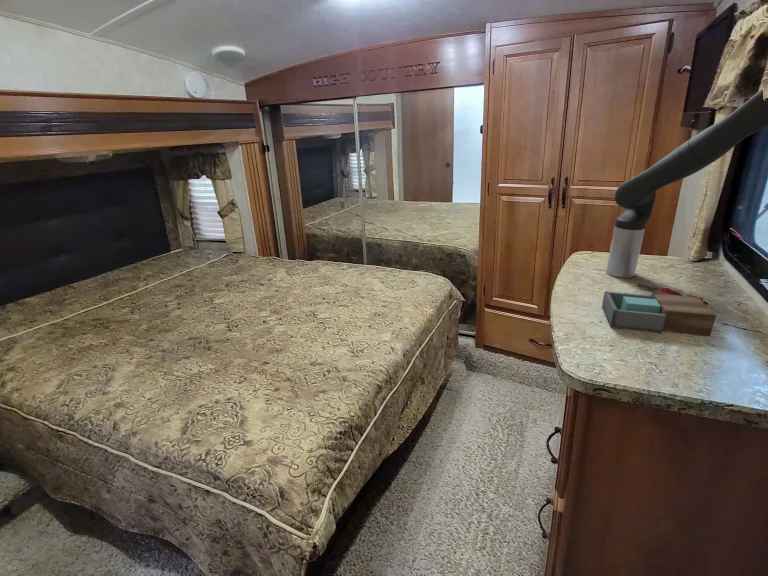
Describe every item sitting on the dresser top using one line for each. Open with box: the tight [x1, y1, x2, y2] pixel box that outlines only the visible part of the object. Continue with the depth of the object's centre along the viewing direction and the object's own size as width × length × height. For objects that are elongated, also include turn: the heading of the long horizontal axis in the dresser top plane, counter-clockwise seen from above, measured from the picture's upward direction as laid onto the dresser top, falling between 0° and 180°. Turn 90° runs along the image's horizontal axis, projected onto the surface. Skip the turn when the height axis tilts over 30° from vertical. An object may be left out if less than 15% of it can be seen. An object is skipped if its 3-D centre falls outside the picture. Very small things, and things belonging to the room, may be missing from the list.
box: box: [601, 291, 666, 334], centre depth 114 cm, size 14×12×5 cm
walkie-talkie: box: [636, 282, 708, 306], centre depth 127 cm, size 9×4×20 cm
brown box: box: [651, 292, 717, 337], centre depth 111 cm, size 12×11×6 cm
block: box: [620, 296, 661, 313], centre depth 113 cm, size 5×5×8 cm
